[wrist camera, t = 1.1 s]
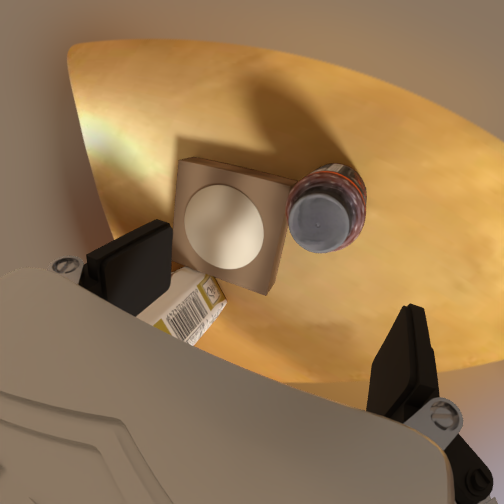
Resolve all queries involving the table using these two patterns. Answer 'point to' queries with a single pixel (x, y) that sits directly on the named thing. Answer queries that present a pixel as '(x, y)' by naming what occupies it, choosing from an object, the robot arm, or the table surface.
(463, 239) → the table surface
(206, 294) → the juice carton
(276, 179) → the walnut stand
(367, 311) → the table surface
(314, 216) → the supplement bottle
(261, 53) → the table surface
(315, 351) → the table surface
